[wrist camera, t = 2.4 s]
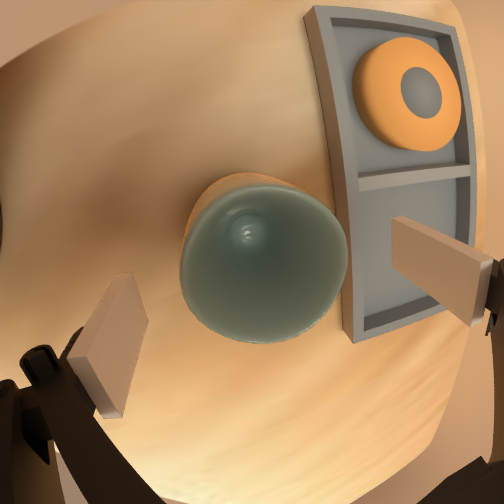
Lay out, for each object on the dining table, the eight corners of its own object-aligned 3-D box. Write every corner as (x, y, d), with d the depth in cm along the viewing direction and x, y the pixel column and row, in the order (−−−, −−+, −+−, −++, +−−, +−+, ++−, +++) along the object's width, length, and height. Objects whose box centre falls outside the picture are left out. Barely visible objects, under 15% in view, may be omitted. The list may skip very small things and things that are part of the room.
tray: (303, 17, 18) (313, 5, 16) (438, 32, 19) (454, 27, 17) (342, 328, 28) (353, 343, 25) (453, 290, 29) (467, 300, 26)
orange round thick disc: (329, 90, 20) (348, 83, 17) (390, 27, 19) (411, 17, 16) (403, 171, 23) (426, 176, 20) (452, 104, 21) (476, 103, 18)
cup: (209, 152, 21) (213, 156, 12) (308, 189, 23) (375, 221, 14) (175, 252, 23) (158, 323, 14) (270, 281, 25) (307, 358, 16)
